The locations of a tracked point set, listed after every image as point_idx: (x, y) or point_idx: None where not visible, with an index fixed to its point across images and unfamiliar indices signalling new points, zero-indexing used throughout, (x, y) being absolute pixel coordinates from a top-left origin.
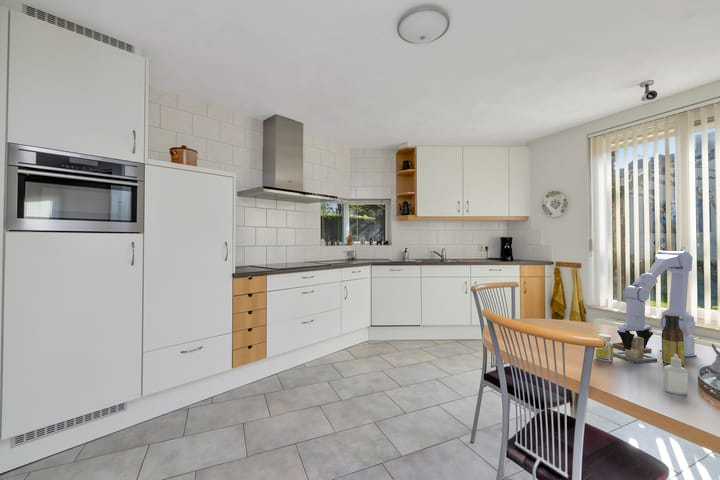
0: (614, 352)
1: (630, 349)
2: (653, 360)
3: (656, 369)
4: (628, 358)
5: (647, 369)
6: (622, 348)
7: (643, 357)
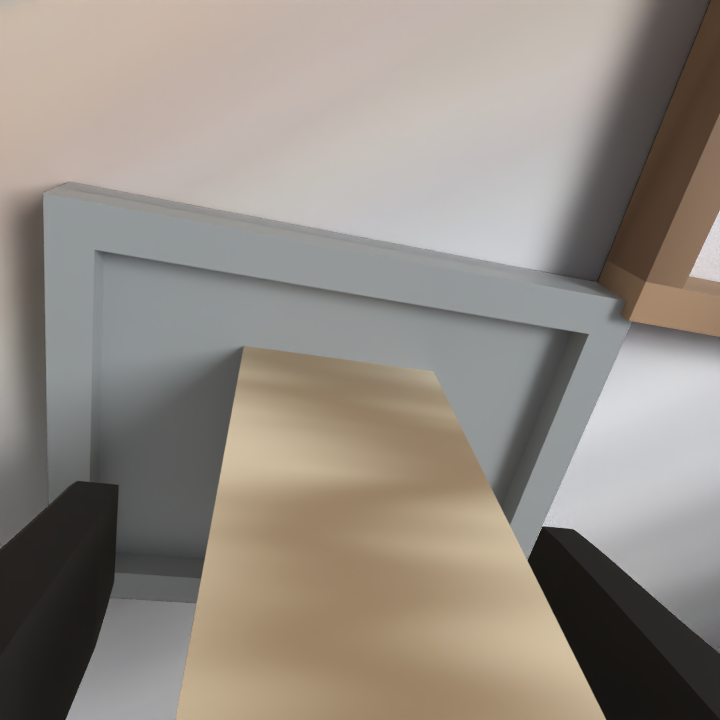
0: (68, 219)
1: (104, 596)
2: None
3: (133, 714)
4: (55, 492)
5: None
6: (713, 48)
7: None
